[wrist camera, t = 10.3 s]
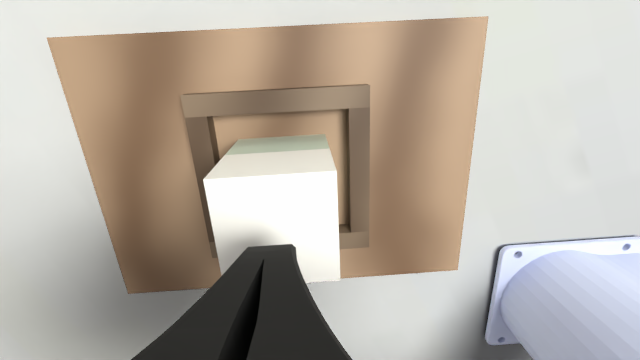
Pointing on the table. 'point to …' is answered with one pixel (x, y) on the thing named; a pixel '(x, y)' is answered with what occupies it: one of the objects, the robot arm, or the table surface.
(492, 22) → the table surface
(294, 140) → the cream rectangular block
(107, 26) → the table surface
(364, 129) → the brown wooden board
